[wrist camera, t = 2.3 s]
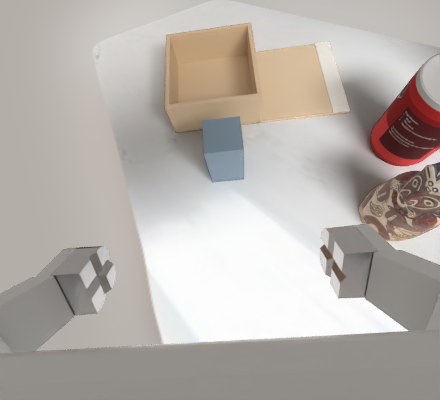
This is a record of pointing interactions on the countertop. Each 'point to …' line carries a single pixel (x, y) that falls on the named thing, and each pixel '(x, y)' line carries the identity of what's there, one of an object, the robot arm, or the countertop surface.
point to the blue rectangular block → (223, 148)
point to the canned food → (411, 120)
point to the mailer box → (247, 79)
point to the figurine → (404, 205)
